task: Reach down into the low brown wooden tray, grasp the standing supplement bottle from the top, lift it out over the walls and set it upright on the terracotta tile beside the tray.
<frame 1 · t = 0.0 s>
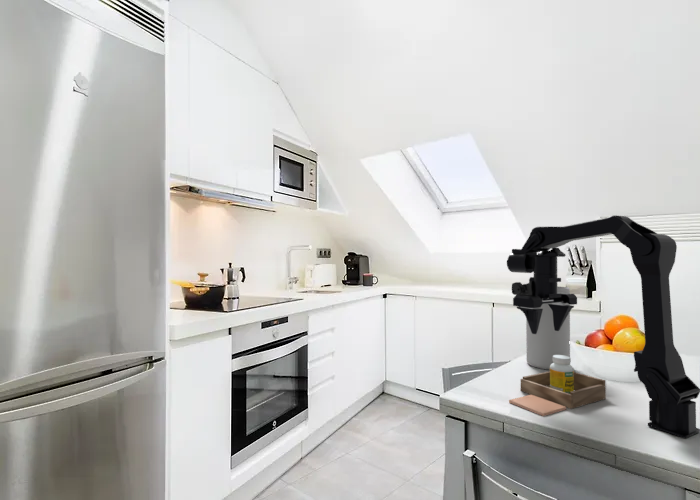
hand: (545, 332, 104), 15 cm above the table, tool pointing down, fingers open, 9 cm apart
supplement bottle: (561, 395, 99), resting in brown wooden tray
brown wooden tray: (561, 394, 99), on the table
cylinder vase: (547, 365, 125), on the table
terracotta tile: (536, 405, 91), on the table
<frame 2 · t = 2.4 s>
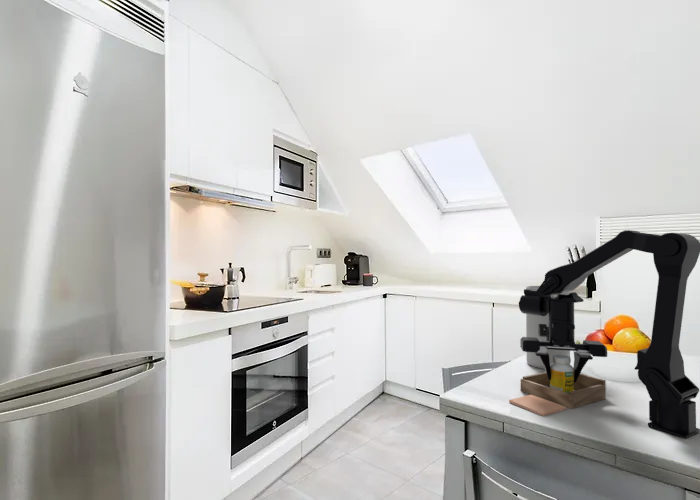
hand: (561, 380, 99), 4 cm above the table, tool pointing down, fingers closed on supplement bottle, 5 cm apart
supplement bottle: (561, 395, 99), resting in brown wooden tray, touching gripper
everything else where it was.
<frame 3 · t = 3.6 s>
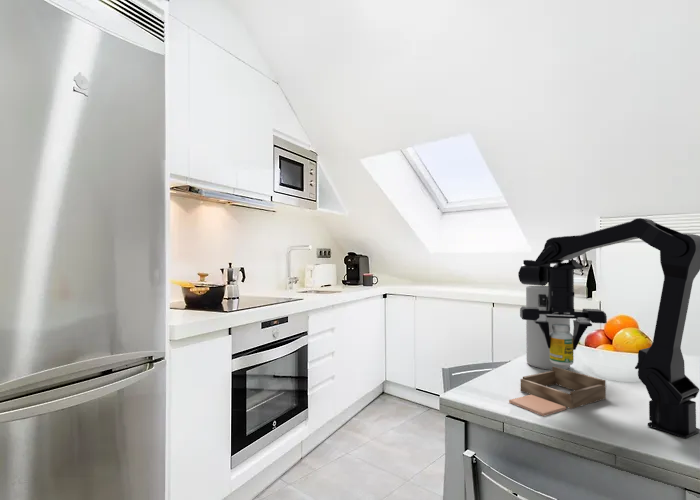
hand: (561, 348, 99), 12 cm above the table, tool pointing down, fingers closed on supplement bottle, 5 cm apart
supplement bottle: (561, 363, 99), point 8 cm above the table, touching gripper
everything else where it was.
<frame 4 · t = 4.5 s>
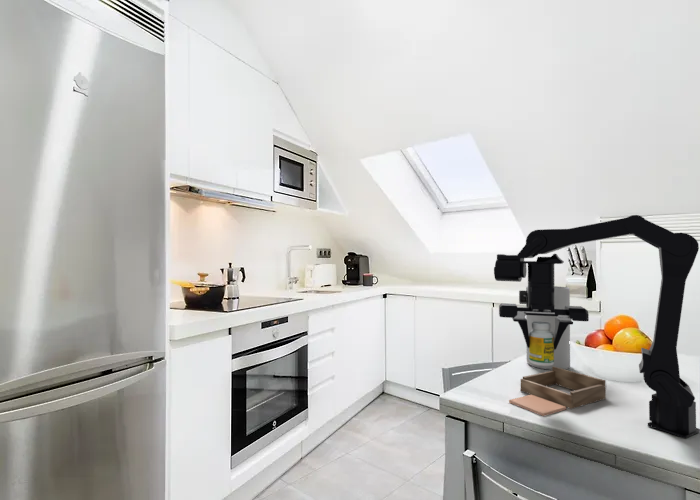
hand: (541, 348, 93), 13 cm above the table, tool pointing down, fingers closed on supplement bottle, 5 cm apart
supplement bottle: (541, 363, 93), point 9 cm above the table, touching gripper
everything else where it was.
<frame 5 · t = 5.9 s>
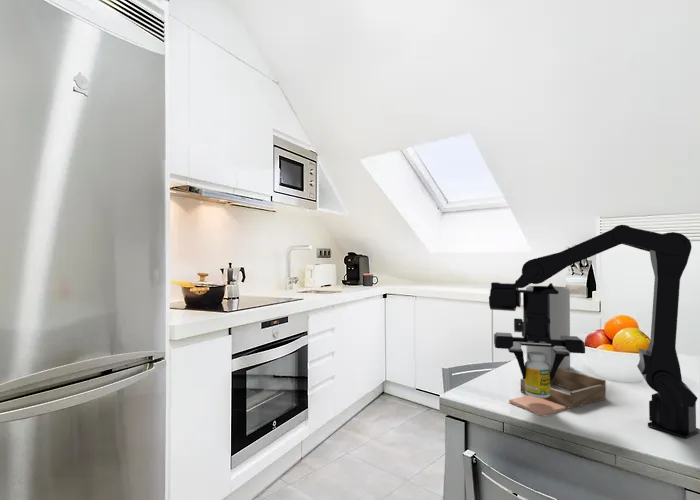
hand: (537, 379, 91), 6 cm above the table, tool pointing down, fingers closed on supplement bottle, 5 cm apart
supplement bottle: (537, 395, 91), point 2 cm above the table, touching gripper
everything else where it was.
when the fingers open (5 cm above the table, at t = 7.0 s): supplement bottle stays where it is, resting on terracotta tile.
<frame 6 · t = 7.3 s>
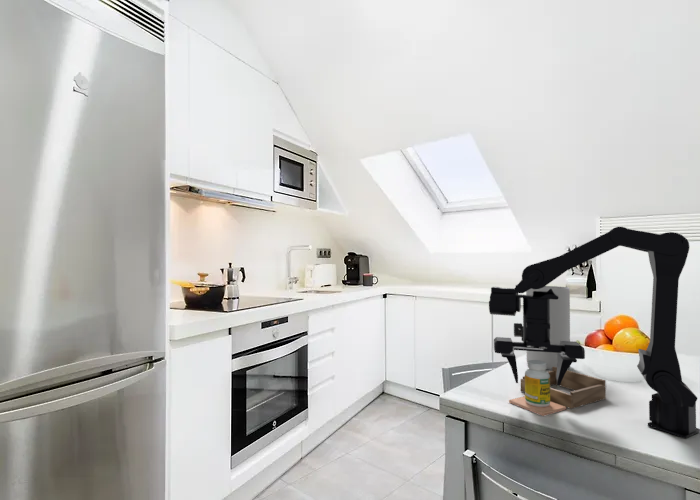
hand: (536, 384, 91), 5 cm above the table, tool pointing down, fingers open, 8 cm apart
supplement bottle: (537, 404, 91), resting on terracotta tile
everything else where it was.
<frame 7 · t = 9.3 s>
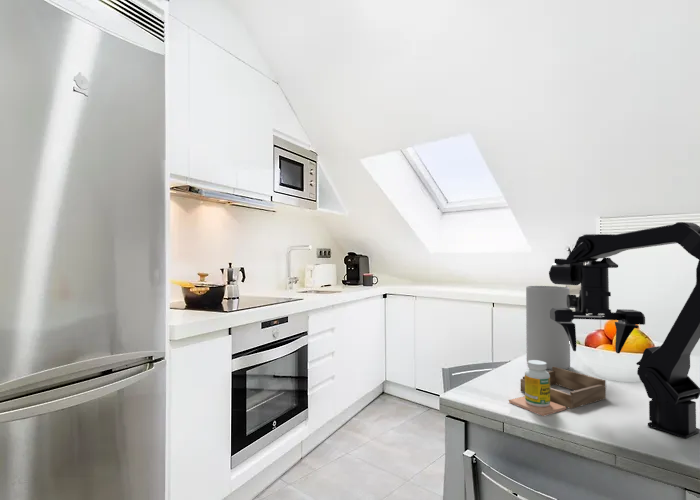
hand: (595, 351, 94), 12 cm above the table, tool pointing down, fingers open, 9 cm apart
nothing on the table moved.
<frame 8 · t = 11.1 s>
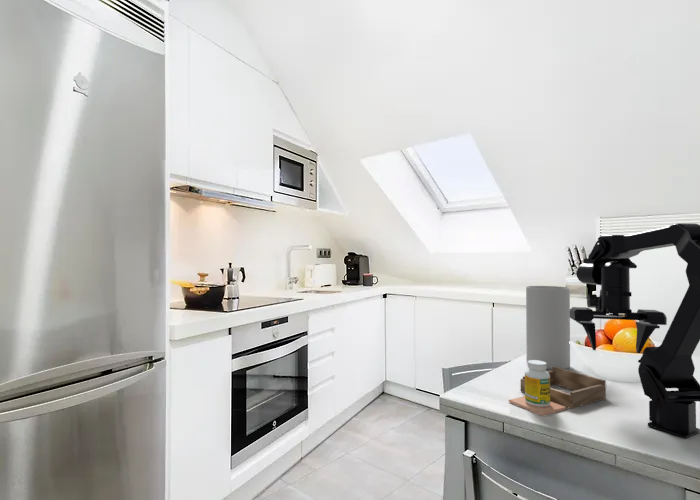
hand: (615, 351, 94), 12 cm above the table, tool pointing down, fingers open, 9 cm apart
nothing on the table moved.
at the end: supplement bottle 0.1 cm off-centre on the terracotta tile, point 0.4 cm above the terracotta tile's base; supplement bottle tilted 0°; the gripper is holding nothing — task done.
